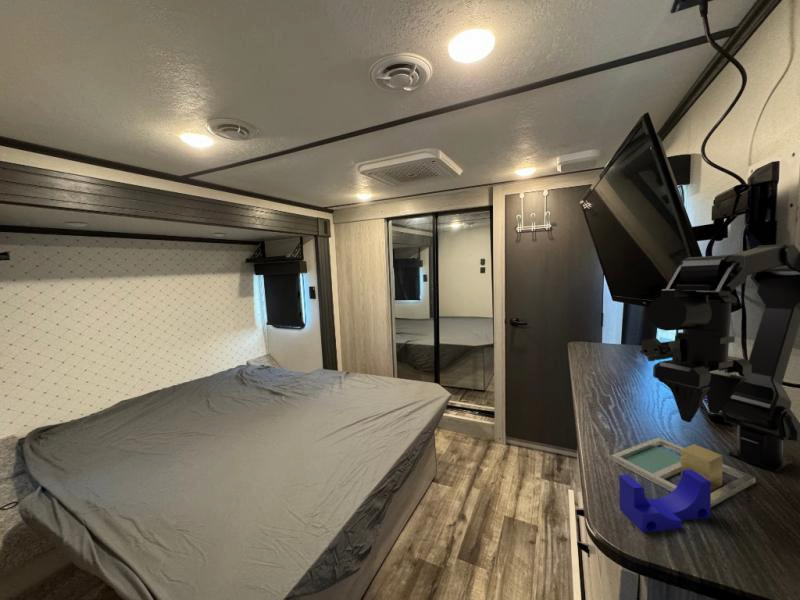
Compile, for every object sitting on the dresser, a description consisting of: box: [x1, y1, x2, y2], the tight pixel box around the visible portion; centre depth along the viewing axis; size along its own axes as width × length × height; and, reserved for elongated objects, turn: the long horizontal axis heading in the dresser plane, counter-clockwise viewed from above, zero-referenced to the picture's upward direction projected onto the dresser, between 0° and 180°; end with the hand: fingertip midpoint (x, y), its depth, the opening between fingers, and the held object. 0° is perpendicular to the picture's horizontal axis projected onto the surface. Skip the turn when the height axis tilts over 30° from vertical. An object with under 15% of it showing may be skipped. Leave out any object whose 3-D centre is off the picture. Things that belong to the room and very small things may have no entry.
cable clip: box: [618, 469, 712, 533], centre depth 47 cm, size 12×4×6 cm, turn 92°
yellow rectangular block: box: [680, 443, 724, 492], centre depth 55 cm, size 4×4×6 cm
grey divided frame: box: [610, 437, 756, 509], centre depth 58 cm, size 15×15×1 cm
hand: (700, 416), depth 54 cm, fingers open, 9 cm apart
